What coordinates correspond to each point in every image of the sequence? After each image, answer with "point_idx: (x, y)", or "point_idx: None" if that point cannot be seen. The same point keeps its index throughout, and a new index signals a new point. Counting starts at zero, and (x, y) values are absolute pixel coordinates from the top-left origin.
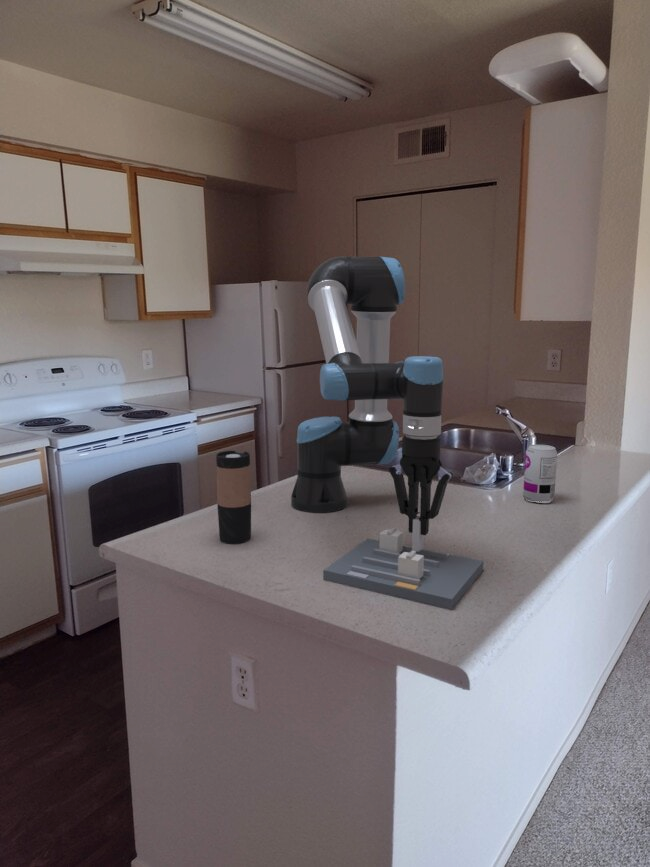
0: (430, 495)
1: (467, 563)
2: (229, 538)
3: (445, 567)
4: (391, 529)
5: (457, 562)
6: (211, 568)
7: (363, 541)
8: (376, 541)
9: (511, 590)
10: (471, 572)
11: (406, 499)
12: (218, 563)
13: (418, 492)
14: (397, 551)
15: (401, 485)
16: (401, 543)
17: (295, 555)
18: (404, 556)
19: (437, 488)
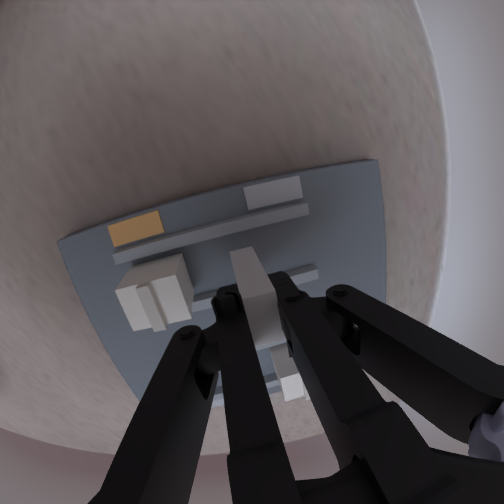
0: (351, 355)
1: (357, 200)
2: None
3: (328, 258)
4: (146, 305)
5: (337, 210)
6: (52, 431)
7: (66, 267)
8: (83, 241)
9: (427, 217)
10: (381, 241)
11: (195, 383)
12: (40, 420)
13: (266, 389)
14: (192, 292)
15: (184, 476)
16: (183, 272)
17: (43, 360)
18: (295, 392)
19: (436, 418)
